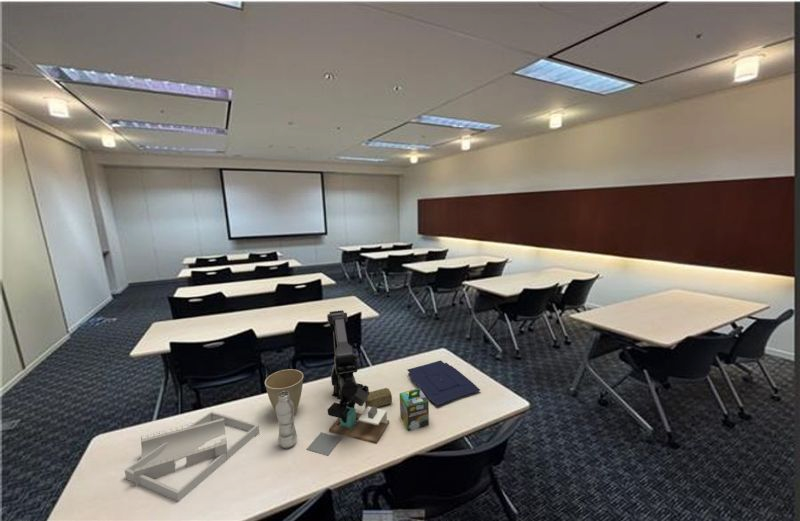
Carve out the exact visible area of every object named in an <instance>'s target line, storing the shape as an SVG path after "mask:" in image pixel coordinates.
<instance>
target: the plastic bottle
mask: <svg viewBox="0 0 800 521" xmlns="http://www.w3.org/2000/svg"><path fill="white" fill-rule="evenodd" d="M278 397H279V398H278V400H279V402H278V404H277V405H276V412H275V414H276V417H277V418H276V419H277V422H278V436H277V437H278V438H277V439H278V440H277V442H278V444H279V446H280V447H281V448H283V449H290V448H292V447H293V446H294V445H295V444H296V442H297V440H298V439H297V438H298V435H297V430H296V426H295V425H296V424H295V417H294V416H295V415H294V403H293V402H292V401H291V400H290V399H289V398H290V396H289V392H288V391H283V392H281V393H279V395H278Z"/></svg>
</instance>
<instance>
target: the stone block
mask: <svg viewBox="0 0 800 521" xmlns="http://www.w3.org/2000/svg"><path fill="white" fill-rule="evenodd" d="M392 395H393V394H392V391H391V390H390V388H387V387H385V388H380V389H375V390H372V391H369V396H368V397H367V400H366V402H365V403H364V405H365V408H367V407H368V406H369V407H372V406H373V407H377V408H379V407H382V406H386V405H390V404H391V403H393V396H392Z"/></svg>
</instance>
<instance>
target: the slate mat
mask: <svg viewBox="0 0 800 521" xmlns="http://www.w3.org/2000/svg"><path fill="white" fill-rule="evenodd" d="M341 440H342V437H340V436H336V435H334V434H331V433H327V432H323V431H321V432H320V433H318V435H317V436H316V437H315V438H314V440H313V441H312V442H311V443H310V444H309V446H307V448H306V450H307V451H309V452H313V453H316V454H319V455H323V456H326V457H329V455H330V454H331V453H332V452H333V450H334V449H335V448H336V447H337V446H338V444H339V443H340V441H341Z"/></svg>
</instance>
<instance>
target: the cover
mask: <svg viewBox="0 0 800 521" xmlns="http://www.w3.org/2000/svg"><path fill="white" fill-rule="evenodd" d="M361 414H362V415H361V416H360V418H359V419H358V421H362V422H366V423H370V424H374V425H379V423H380V422H382V423H387V420H388V412H387V410H386V409H382V408H381V409H380V408H378V407H373V406H372V407H369V406H368V407H365V410H364V411H363V412H362V413H361Z"/></svg>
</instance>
